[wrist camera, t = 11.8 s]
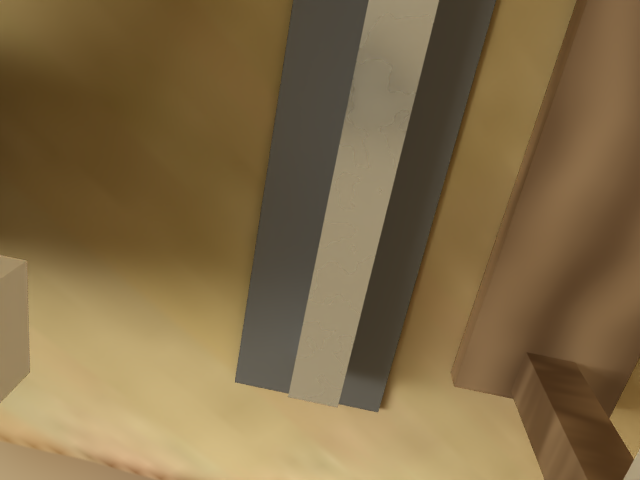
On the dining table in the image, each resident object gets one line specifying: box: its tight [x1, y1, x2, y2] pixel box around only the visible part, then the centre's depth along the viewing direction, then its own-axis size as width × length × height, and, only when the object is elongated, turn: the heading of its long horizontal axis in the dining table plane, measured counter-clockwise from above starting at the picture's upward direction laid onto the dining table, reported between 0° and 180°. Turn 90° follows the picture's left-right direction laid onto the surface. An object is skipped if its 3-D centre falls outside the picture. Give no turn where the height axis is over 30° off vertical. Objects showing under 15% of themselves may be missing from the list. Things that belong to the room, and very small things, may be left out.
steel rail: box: [288, 0, 439, 407], centre depth 28 cm, size 3×28×4 cm, turn 169°
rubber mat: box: [235, 0, 496, 412], centre depth 30 cm, size 10×34×1 cm, turn 169°
